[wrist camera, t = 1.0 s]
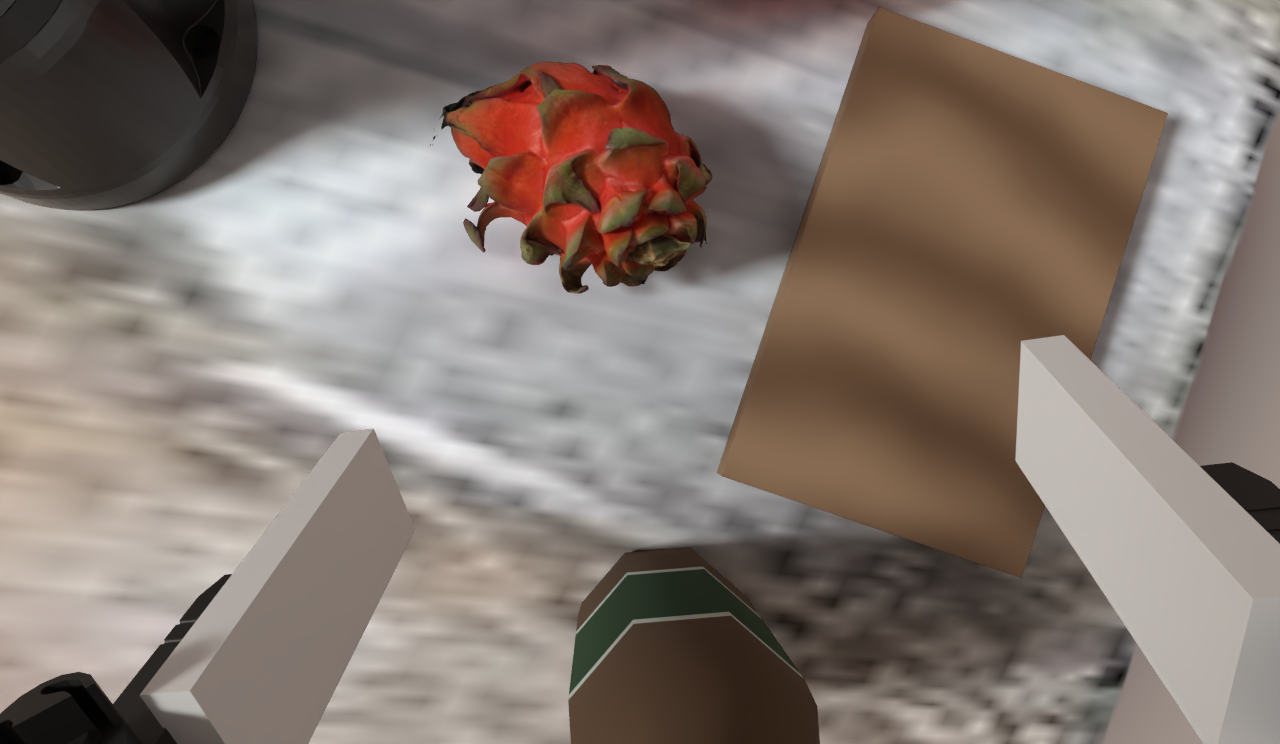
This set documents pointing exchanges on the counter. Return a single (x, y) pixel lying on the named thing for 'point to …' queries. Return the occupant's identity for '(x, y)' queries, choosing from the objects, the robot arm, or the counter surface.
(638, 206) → the dragon fruit
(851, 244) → the wooden cutting board
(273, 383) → the counter surface
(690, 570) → the beer bottle
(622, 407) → the counter surface
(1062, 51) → the counter surface
